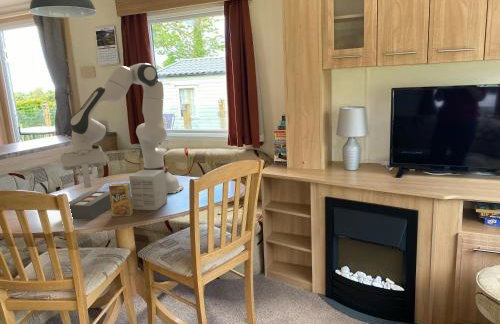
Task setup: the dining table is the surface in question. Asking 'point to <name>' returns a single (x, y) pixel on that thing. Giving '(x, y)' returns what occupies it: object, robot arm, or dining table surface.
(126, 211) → the candy box
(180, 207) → the dining table surface
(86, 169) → the steel stylus
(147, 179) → the supplement box
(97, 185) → the dining table surface
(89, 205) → the board
